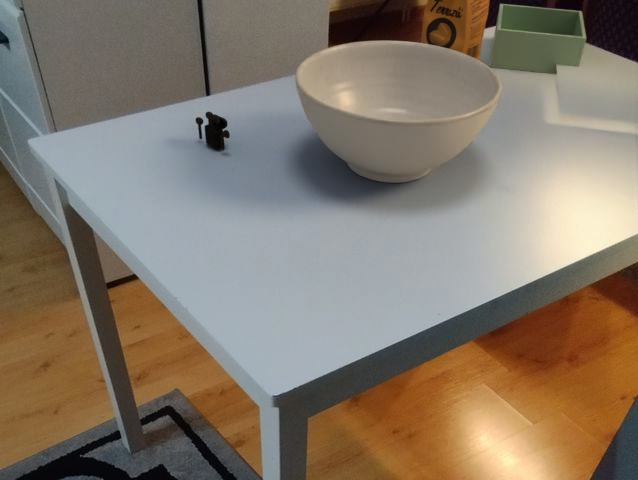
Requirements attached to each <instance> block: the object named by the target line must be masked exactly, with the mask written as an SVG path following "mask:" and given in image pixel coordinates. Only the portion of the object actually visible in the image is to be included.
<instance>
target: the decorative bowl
mask: <svg viewBox="0 0 638 480" xmlns="http://www.w3.org/2000/svg"><path fill="white" fill-rule="evenodd" d="M294 81H295V86H296V91H297V95H298V98H299V101H300V104H301V107H302V108H303V112H304V114H305V116H306V119H307V120H308V122H309V125H311V127H312V129H313V130H314V132H315V133H316V135H317V137H318V138H319V139H320V140H321V141H322V142H323V144H324V145H325V146H326V147H327V148H328V149H329V150H330V151H331V152H332V153H334V155H336V157H338V158H340V159H341V160H343V161H345V162H346V163H347V166H348V167H349V168H350V169H351V170H352V171H353V172H354V173H355V174H357V175H359V176H361V177H363V178H366V179H369V180H371V181H375V182H376V181H377V182H380V183H391V184H392V183H393V184H395V183H396V184H397V183H398V184H399V183H408V182H413V181H416V180H419V179H422V178H424V177H425V176H427V175H428V174H429V173H430V172H431V171H432V170H433V169H434V168H437V167H440V166H442V165H443V164H446V163H447V162H448V161H450V160H452V159H453V158H455V157H456V156H458V154H460V153H461V152H463V150H465V149H467V147H468V146H469V145H470V144H471V143H472V142H473V141H474V140H475V139H476V137H477V136H478V135H479V134H480V132H481V131H482V130H483V128H484V127H485V126H486V125H487V123H488V121H489V120H490V118H491V116H492V114H493V113H494V111H495V109H496V107H497V105H498V103H499V101H500V98H501V95H502V92H503V84H502V81H501V79H500V77H499V76H498V74H497V72H495V71H494V70H493V69H492V67H490V66H488V65H487V64H486V63H484V62H482V61H481V60H477V59H475V58H473V57H471V56H468V55H466V54H463V53H461V52H458V51H455V50H451V49H448V48H444V47H440V46H435V45H430V44H424V43H421V42H415V41H406V40H383V39H382V40H363V41H353V42H348V43H342V44H337V45H333V46H330V47H327V48H324V49H322V50H319V51H317V52H315V53H313V54H311V55H309V56H308V57H306V58H305V59H304V60H302V61H301V63H300V64H299V65H298V67H297V68H296V71H295V75H294Z"/></svg>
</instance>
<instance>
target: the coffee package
mask: <svg viewBox="0 0 638 480" xmlns="http://www.w3.org/2000/svg"><path fill="white" fill-rule="evenodd" d="M490 1H491V0H427V2H426V5H425V7H424V11H423V19H422V30H421V32H422V33H421V41H420V43H424V44H430V45H435V46H440V47H444V48H448V49H451V50H455V51H458V52H461V53H463V54H466V55H468V56H471V57H473V58H475V59H477V60H479V61H481V60H480V59H481V52H482V47H483V46H482V45H483V41H484V40H483V39H484V34H485V29H486V25H487V23H486V22H487V20H488V16H489V9H490Z"/></svg>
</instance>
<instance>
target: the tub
mask: <svg viewBox="0 0 638 480" xmlns="http://www.w3.org/2000/svg"><path fill="white" fill-rule="evenodd" d="M586 42H587V34H586V28H585V21H584V16H583V11H582V10H573V9H563V8H550V7H540V6H530V5H517V4H507V3H499V7H498V12H497V18H496V23H495V29H494V33H493V40H492V48H491V57H490V65H489V67H490V68H497V69H506V70H514V71H515V70H516V71H525V72H534V73H543V74H552V75H554V74H555V75H558V69H557V65H558V66H567V67H578V68H579V67H580V64H581V60H582V56H583V53H584V49H585V46H586Z"/></svg>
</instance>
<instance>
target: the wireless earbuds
mask: <svg viewBox="0 0 638 480" xmlns="http://www.w3.org/2000/svg"><path fill="white" fill-rule="evenodd" d="M205 118H206V119H207V124H205V125H204V136H205V143H206V145H208V146H209V147H211V148H213V149H215V150H221V151H225V150H226V146H225V145H226V144H225V139H229V138H230V137H231V134H230V131H229V130H228V129H226V128H228V123H229V122H228V120H227V119H226V118H225V117H223V116H220V115H218V114H215V113H213V112H212V111H206V112H205ZM195 124H197V129H198V139H199V140H203V131H202V130H203V129H202V125H203V124H204V118H203V117H200V116H197V117H195Z"/></svg>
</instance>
